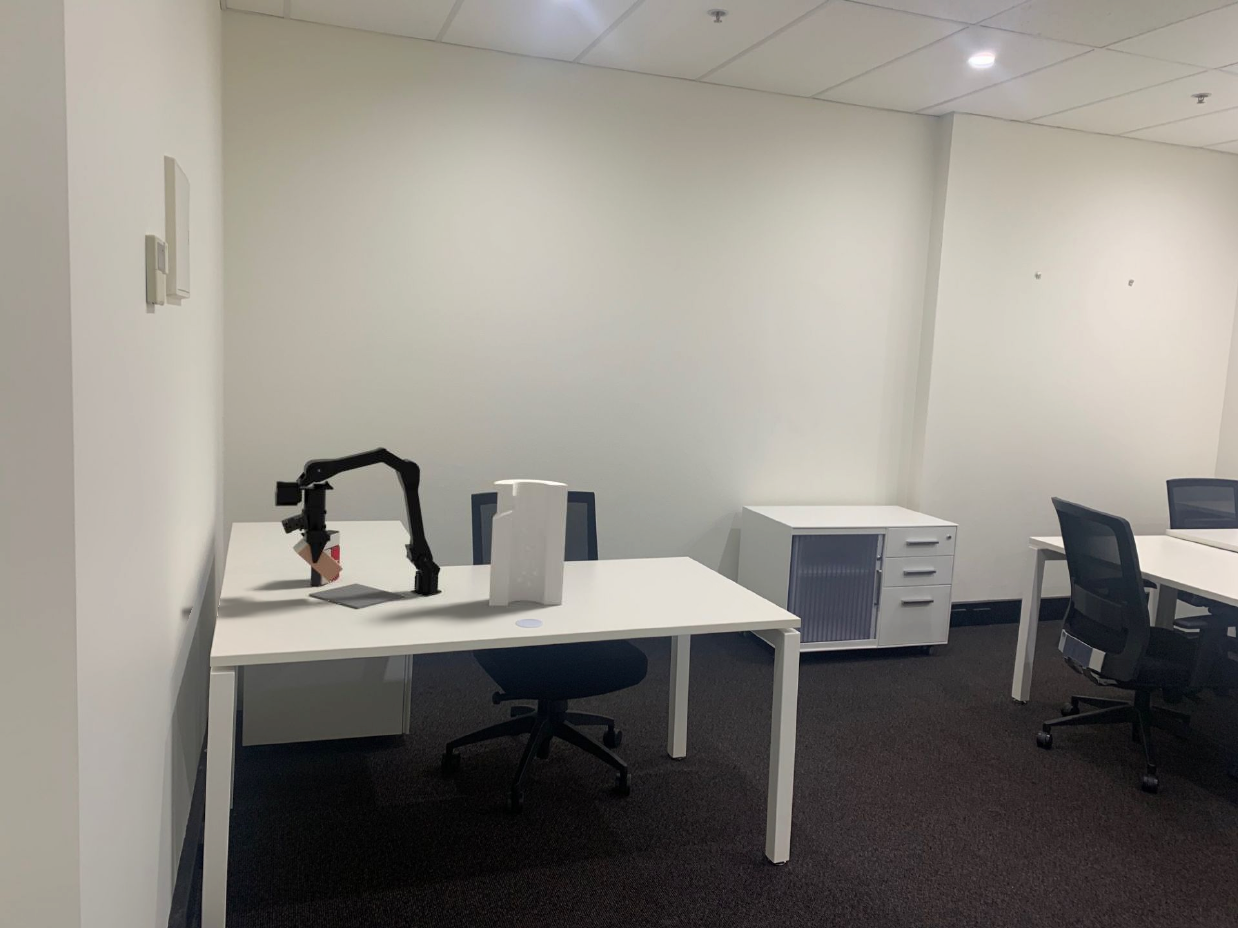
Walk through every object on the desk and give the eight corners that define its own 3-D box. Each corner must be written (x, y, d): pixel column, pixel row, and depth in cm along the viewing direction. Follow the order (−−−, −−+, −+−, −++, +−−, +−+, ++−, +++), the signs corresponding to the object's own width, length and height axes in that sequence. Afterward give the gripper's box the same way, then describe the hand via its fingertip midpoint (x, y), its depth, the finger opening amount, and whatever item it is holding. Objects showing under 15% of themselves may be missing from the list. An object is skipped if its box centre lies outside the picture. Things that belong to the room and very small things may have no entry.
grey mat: (403, 597, 254) (404, 595, 254) (357, 608, 239) (358, 607, 239) (356, 584, 264) (356, 583, 264) (309, 595, 250) (309, 593, 250)
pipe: (562, 605, 255) (489, 606, 249) (554, 595, 266) (484, 596, 260) (568, 485, 251) (494, 484, 245) (560, 480, 262) (489, 478, 256)
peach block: (340, 564, 251) (306, 534, 245) (342, 569, 246) (308, 538, 241) (326, 577, 250) (292, 547, 244) (329, 582, 245) (294, 551, 240)
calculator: (321, 587, 260) (323, 537, 258) (308, 585, 261) (309, 535, 259) (340, 578, 270) (342, 530, 269) (327, 577, 271) (329, 529, 270)
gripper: (280, 500, 248) (279, 555, 250) (287, 511, 231) (286, 570, 233) (321, 500, 253) (320, 553, 255) (331, 511, 236) (330, 568, 238)
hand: (313, 561), depth 245 cm, fingers closed on peach block, 5 cm apart
